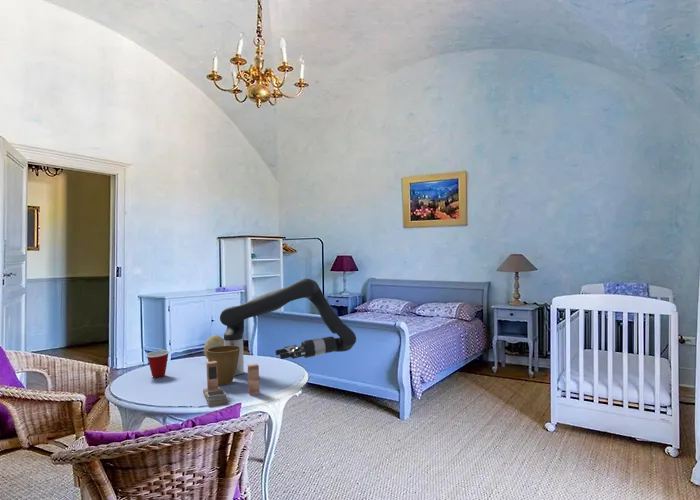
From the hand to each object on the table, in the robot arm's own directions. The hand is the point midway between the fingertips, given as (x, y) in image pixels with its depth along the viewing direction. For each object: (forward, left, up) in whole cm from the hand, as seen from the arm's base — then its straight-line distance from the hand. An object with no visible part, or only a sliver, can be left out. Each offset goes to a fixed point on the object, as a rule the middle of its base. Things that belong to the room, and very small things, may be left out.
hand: (278, 354), depth 201 cm
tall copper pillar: (0, -11, -15) cm, 19 cm away
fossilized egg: (-69, -18, -15) cm, 73 cm away
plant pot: (-23, -20, -15) cm, 34 cm away
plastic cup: (-52, -48, -15) cm, 73 cm away
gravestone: (-2, -27, -15) cm, 31 cm away
